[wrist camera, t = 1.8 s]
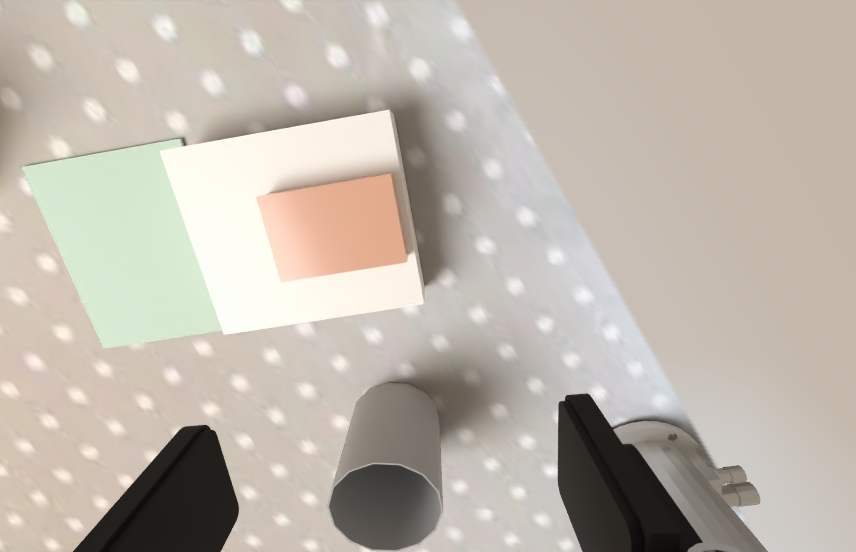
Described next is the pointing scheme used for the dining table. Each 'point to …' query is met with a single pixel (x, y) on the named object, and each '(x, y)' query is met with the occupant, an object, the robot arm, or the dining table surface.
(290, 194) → the tile
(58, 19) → the dining table surface
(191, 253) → the mat
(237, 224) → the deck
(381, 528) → the cup
